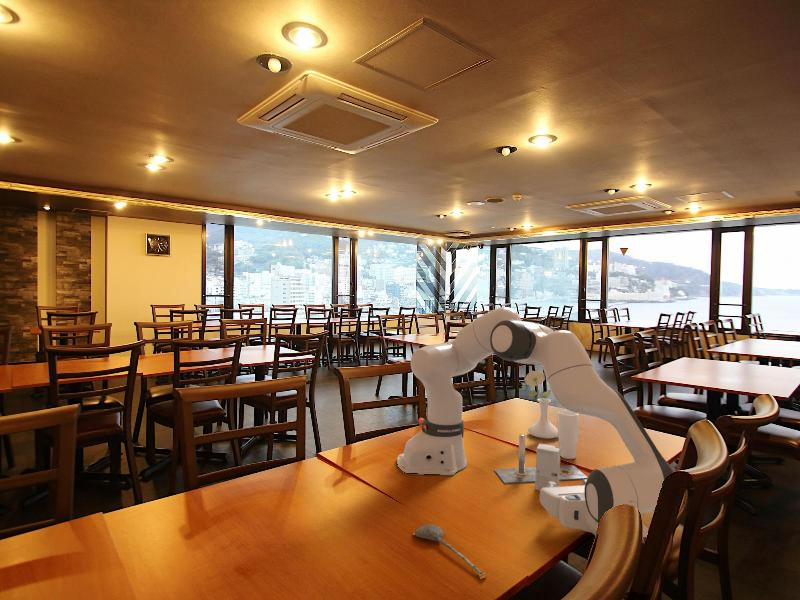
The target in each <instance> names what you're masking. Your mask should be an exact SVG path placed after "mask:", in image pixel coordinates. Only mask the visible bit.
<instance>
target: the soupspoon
mask: <svg viewBox="0 0 800 600" xmlns="http://www.w3.org/2000/svg"><path fill="white" fill-rule="evenodd" d="M415 530H416V531H415ZM415 530H414V531H415V535H416V536H415V537H418V538H422V539H427V540H430V541H437V542H439V543H440V544H443V546H445V547H446V548H448V549H450V551H452V552H453V553H454V554H455V555H457V556H458V557H459V558H460V559H462V560H463V561H464V562H465V563H466V564H468V565H469V566H470V567H471V568H472V570H473V569H474V572H475V571H476V572H477V573H478V574H482V575H481V576H480V577H482V576H484V575H486V576H487V573H485V572H483V571H481V570H480V569H479V568H477V566H476V565H474V563H472V562H471V561H470V560H469V559H468V558H467V557H465V555H463V554H462V553H461V552H459V550H457V549H456V548H455V547H453V546H452V545H451V544H449V543H448V542H446V541H445V540H444V539H443V537H444V531H443V529H442V528H441V527H440V526H437V525H434V524H424V525H421V526H419V527H418V529H415ZM476 572H475V573H476ZM477 573H476V574H477ZM480 577H479V578H480Z"/></svg>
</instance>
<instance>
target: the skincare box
mask: <svg viewBox="0 0 800 600" xmlns="http://www.w3.org/2000/svg"><path fill="white" fill-rule="evenodd" d="M560 453H561V448H560V447H559V446H555V445H551V444H545V443H544V444H543V443H538V446H537V447H536V457H535V467H536V478H535V482H534V483H535V484H534V485H535V486H534V489H535V490H537V491H540V490H541V489H542V488H544V487H548V482H553V481H554V483H556V487H560V481H559V475H560V466H561V457H560Z"/></svg>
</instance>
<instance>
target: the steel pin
mask: <svg viewBox="0 0 800 600" xmlns="http://www.w3.org/2000/svg"><path fill="white" fill-rule="evenodd" d="M518 468H519V470H518V471H517V472H516V474H517V475H518V476H521V477H524V476H527V472H525V468H526V435H525V434H522V433H521V434H519V435H518Z"/></svg>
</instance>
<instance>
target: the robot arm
mask: <svg viewBox="0 0 800 600" xmlns="http://www.w3.org/2000/svg"><path fill="white" fill-rule="evenodd" d="M493 354H495V355H496V356H497V357H499V358H500V359H502V360H505V361H508V362H515V363H519V364H525V365H540V366H541V367H542V369H543V373H544V376H545V379H546V380H547V381H546V382H547V383H548V384H547V385H548V387H549V389H550V390H551V392H550V393H551V394H552V396H553V397H554V399H555V401H556V402H557V404H558V405H560V406H561V407H563V408H564V409H565V410H570V411H572V412H575V413H579V415H585V416H591V417H594V418H598V419H601V420H603V421H605V422H607V423H609V424H610V425H611V426H613V428H614V429H615V431H616V432H617V433H618V435H619V437H620V438H621V440H622V442H623V444H624V445H625V447H626V448H627V450H628V452H629V453H630V455H631V457H632V458H633V460H634V461H633V462H628V463H623V464H617V465H616V464H615V465H611V466H604V467H599V468H595V469H593V470H592V471H591V472H590V473H589V474H588V476H587V477H588V478H587V479H581V481H582V483H581V484H582V485H579V484H578V485H565V486H564V485H563V486H562V485H561V486H559V487H556V483H554V481H553V482H548V487H544V488H542V489H541V490H539V502H540V504H541V506H542V507H543V508H544V509H545V511H546V512H548V513H549V514H550V515H551V516H552V517H553V518H556V519H558V520H559V521H558V522H559V524H560V525H561V527H563V528H569V529H576V530H581V531H585V532H588V533H592V534H593V535H594V536H595V535H596V531H597V528H598V524H599V522H600V519H601V518H602V516H603V515H604V513H605V512H606V511H608V510H609V509H611V508H612V507H615V506H618V505H623V504H628V505H633V506H635V507H636V508H637V509H638V510H639V512H640V514H645V513H650V512H655V511H654V510H655V507H656V505H657V500H658V497H659V493H660V490H661V488H662V483H663V481H664V479H665V478H666V477H667V476H668V475H670V474H671V473H673V472H674V471H675V470H674V467H672V466H671V465H670V463H669V462H668V461H667V459H665V458H664V457H663V455H662V454H661V452H660V451H659V450H658V447H656V445H655V443H654V441H653V440H652V438H651V437H650V435H649V433H648V432H647V430H646V429H645V427H644V425H643V424H642V423H641V421H640V419H639V418H638V416H637V414H636V413H635V411H634V410H633V408H632V407H631V406H630V405H629V403H628V401H627V400H626V398H625V397H624V396H623V394H622V393H620V392H619V391H618V390H616V389H613V388H611V387H610V386H609V385H608V384H607V383H606V382H605V381H604V380H603V379H602V378H601V377H600V375H599V374H598V372H597V371H596V368H595V367H594V364H593V362H592V360H591V359H590V356H589V354H588V352H587V350H586V348H585V347H584V345H583V344H582V342H581V341H580V339H579V338H578V337H577V335H576V334H575V333H573V332H572V331H569V330H566V329H565V330H564V329H559V330H557V329H555V328H553V327H551V326H549V325H543V324H540V323H538V322H533V321H526V320H525V321H523V320H522V319H521V317H520V315H519V313H518V312H517V311H516V310H515V309H513V308H512V307H508V306H501V307H498V308H495V309H492V310H490V311H488V312H486V313H484V314H482V315H481V316H478V318H476V319H475V320H472V321H471V322H470V323H468V324H467V325H465V326H464V327H461V328H460V329H459V330H458V332H457V333H456V338H454V339H453V340H450V341H447V342H446V341H445V342H441V343H435V344H427V345H425V346H422V347H420V348H417V349H416V350H415V351H414V352H413V353H412V355H411V357H410V368H411V372H412V373H413V374H414V376H415V377H416V378H417V379H418V380H419V381H420V382H421V383H422V385H423V387H424V389H425V392H426V400H427V401H426V402H427V418H426V419H424V418H423V417H419V419H418V424H419V425H420V427H421V431H419V432H417V433H416V434H415V435H414V436H412V437H411V438H409V439H408V440H407V441H406V443H405V447H404V449H403V453H400V454H398V456H397V458H396V465H397V464H398V465H397V467H399V468H400V469H401V470H402V471H404V472H406V473H418V474H417V475H424V474H440V475H439V476H454V475H456V474H457V473H456V472H459V471H461V470H463V469H465V468H466V467H467V466H468V461H467V458H466V454H465V447H464V439H463V438H464V434H465V423H464V420H463V396H462V395H461V393H460V392H459V391H458V390H456V389H455V388H454V386H453V382H452V381H453V377H457V376H461V375H465V374H467V373H469V372H471V371H472V370H474V369H476V367H477V365H478V364H479V362H481V361H483V360H484V359H486V358H488V357H489V356H492V355H493ZM550 390H549V391H550ZM399 468H398V469H399ZM400 469H399V470H400ZM401 470H400V471H401ZM402 471H401V472H402ZM404 472H403V473H404ZM406 473H405V474H406ZM455 473H456V474H455ZM648 529H649V528H648V527H647V526H646V525H645V524H644V523H643V539H644V543H645V541H646V539H647V535H648Z"/></svg>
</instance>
